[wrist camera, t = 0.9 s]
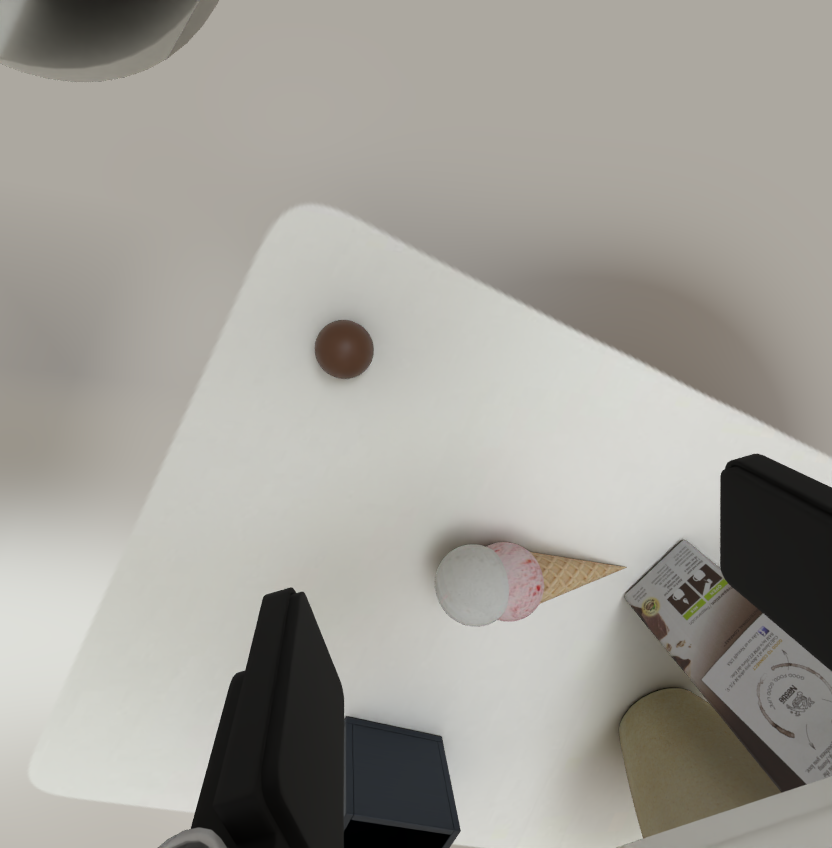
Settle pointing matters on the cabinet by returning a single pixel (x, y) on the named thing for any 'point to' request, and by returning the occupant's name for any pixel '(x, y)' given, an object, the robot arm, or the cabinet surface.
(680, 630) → the coffee box
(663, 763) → the plant pot
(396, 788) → the waste bin
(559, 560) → the ice cream cone
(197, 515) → the cabinet surface
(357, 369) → the ball
